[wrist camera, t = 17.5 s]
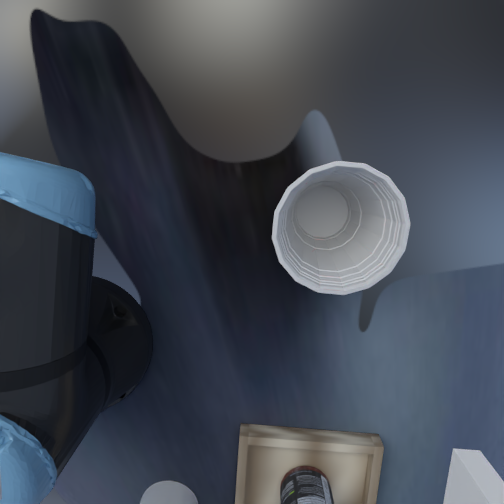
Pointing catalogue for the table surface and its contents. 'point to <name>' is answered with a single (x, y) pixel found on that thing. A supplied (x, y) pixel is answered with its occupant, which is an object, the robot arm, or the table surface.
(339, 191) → the plastic cup
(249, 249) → the table surface
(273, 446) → the tray
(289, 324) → the table surface
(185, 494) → the cylindrical container
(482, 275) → the table surface
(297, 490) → the supplement bottle
